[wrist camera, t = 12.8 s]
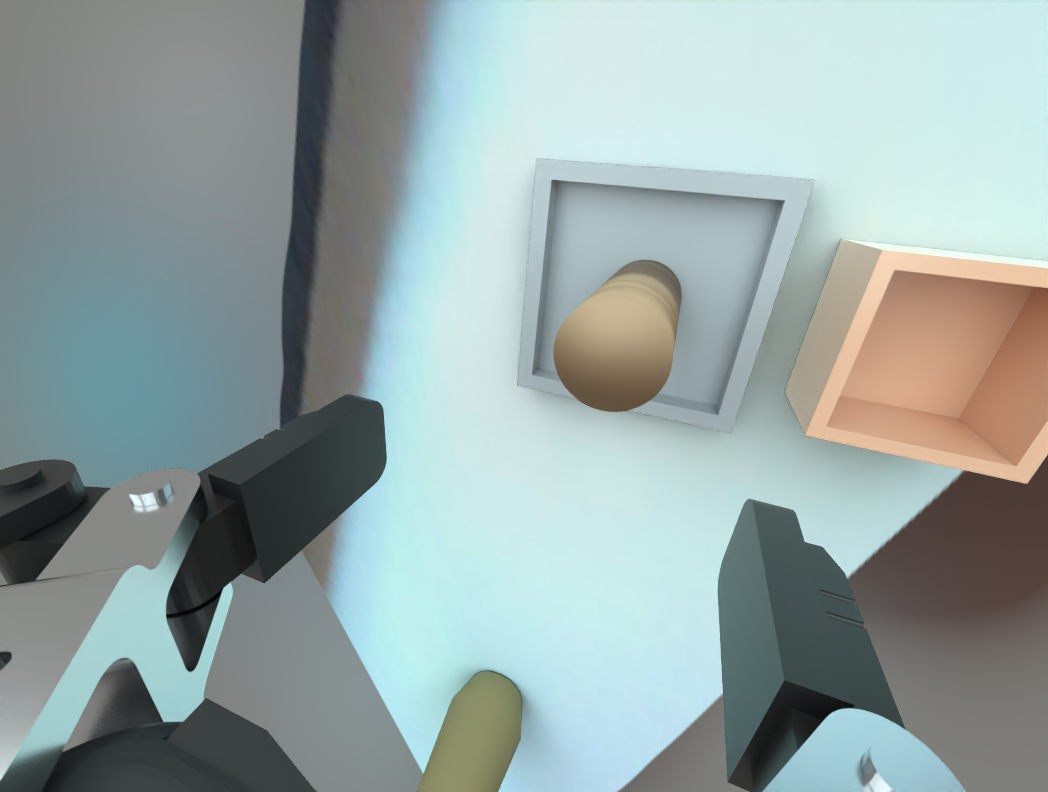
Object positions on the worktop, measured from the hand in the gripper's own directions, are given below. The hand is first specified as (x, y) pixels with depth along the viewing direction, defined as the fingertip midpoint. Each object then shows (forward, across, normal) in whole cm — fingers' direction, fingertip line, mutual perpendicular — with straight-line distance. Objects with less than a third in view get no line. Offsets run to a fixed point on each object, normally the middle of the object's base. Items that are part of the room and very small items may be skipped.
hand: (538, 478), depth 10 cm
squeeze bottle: (+21, +7, +45) cm, 50 cm away
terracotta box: (+21, -14, 0) cm, 25 cm away
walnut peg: (+20, 0, 0) cm, 21 cm away
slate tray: (+21, 0, 0) cm, 21 cm away
